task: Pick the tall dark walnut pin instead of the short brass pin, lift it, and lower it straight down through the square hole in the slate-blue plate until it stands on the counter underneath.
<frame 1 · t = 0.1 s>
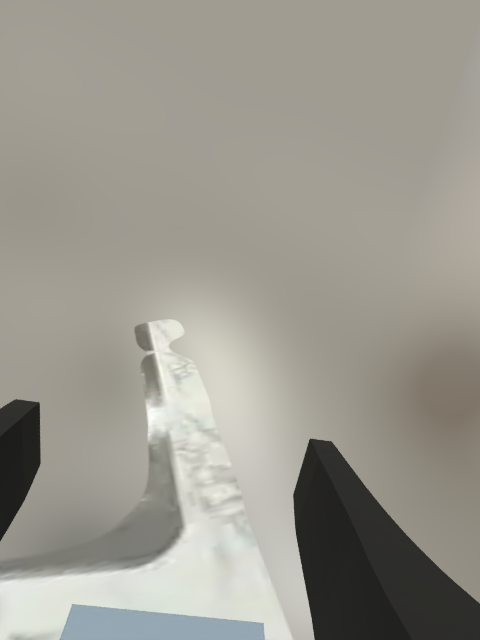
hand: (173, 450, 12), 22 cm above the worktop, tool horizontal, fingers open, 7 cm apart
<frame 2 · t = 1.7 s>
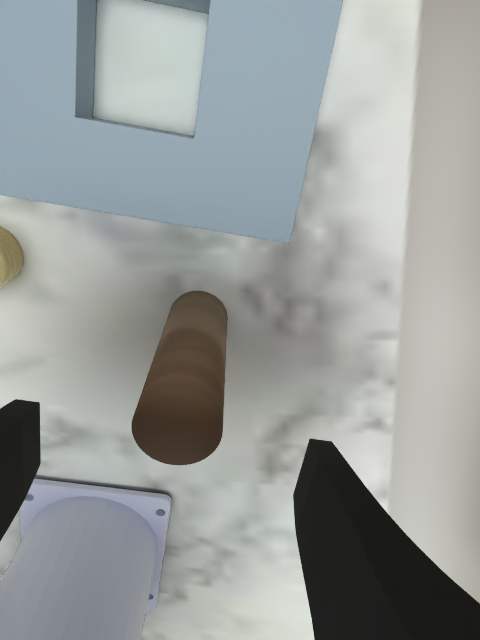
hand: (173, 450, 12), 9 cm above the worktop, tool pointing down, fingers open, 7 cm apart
hole plate: (150, 68, 16), on the worktop
walnut pin: (198, 318, 20), on the worktop
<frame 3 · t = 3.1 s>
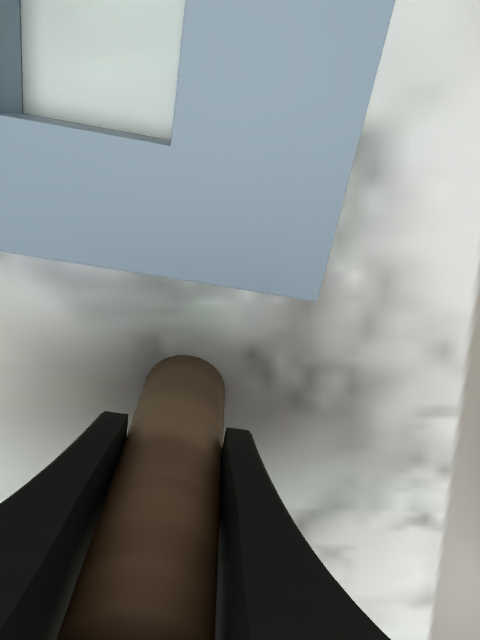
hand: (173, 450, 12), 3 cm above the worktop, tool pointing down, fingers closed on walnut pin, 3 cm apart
hole plate: (106, 37, 10), on the worktop
walnut pin: (185, 390, 14), on the worktop, touching gripper
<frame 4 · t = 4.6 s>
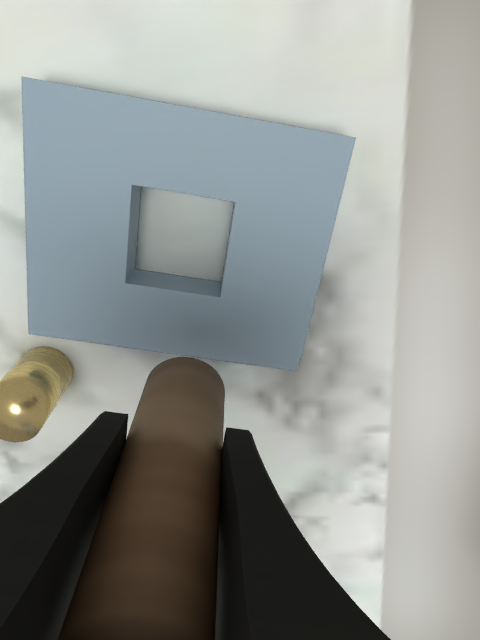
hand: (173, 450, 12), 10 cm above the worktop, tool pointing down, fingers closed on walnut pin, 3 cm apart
hole plate: (183, 233, 20), on the worktop
brass pin: (47, 369, 22), on the worktop
walnut pin: (185, 391, 15), point 7 cm above the worktop, touching gripper
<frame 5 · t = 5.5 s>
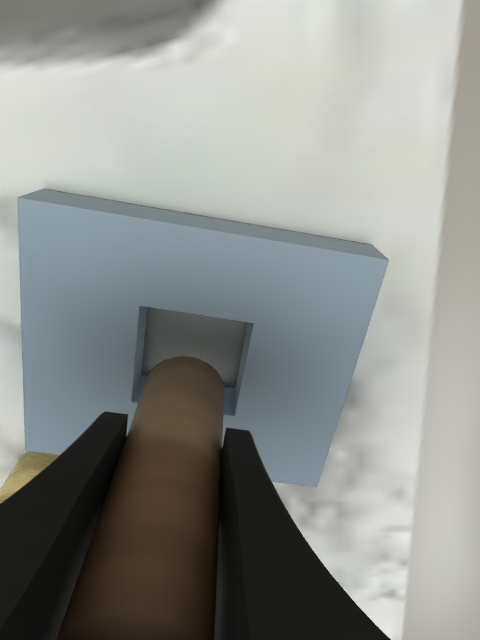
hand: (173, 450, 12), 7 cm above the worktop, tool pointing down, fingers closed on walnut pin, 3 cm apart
hole plate: (194, 339, 18), on the worktop
brass pin: (45, 471, 21), on the worktop
walnut pin: (184, 391, 14), point 4 cm above the worktop, touching gripper
when the fingers open (4 cm above the worktop, at t = 6.3 s): walnut pin drops 1 cm, resting in hole plate.
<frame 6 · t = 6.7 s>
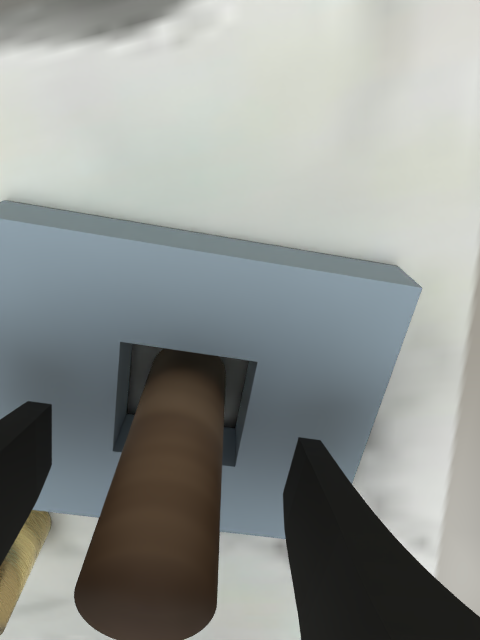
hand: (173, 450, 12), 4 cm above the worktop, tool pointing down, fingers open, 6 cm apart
hole plate: (188, 374, 15), on the worktop
brass pin: (19, 519, 18), on the worktop
walnut pin: (188, 375, 15), resting in hole plate
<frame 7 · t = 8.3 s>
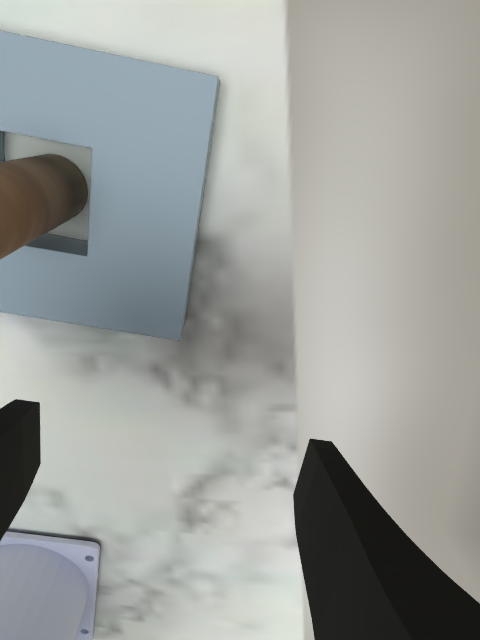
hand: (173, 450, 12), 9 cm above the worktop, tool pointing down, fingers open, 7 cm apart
hole plate: (54, 187, 18), on the worktop
walnut pin: (55, 188, 18), resting in hole plate
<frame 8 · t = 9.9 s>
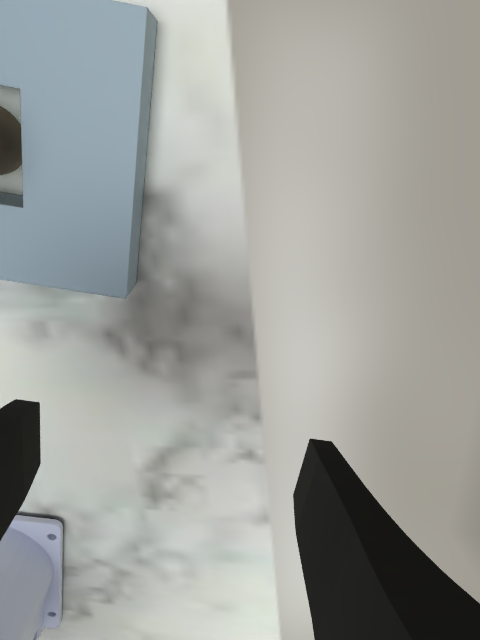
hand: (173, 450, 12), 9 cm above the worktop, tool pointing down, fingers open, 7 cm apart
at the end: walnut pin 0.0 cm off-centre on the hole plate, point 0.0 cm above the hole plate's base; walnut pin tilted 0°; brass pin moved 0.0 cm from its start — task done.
